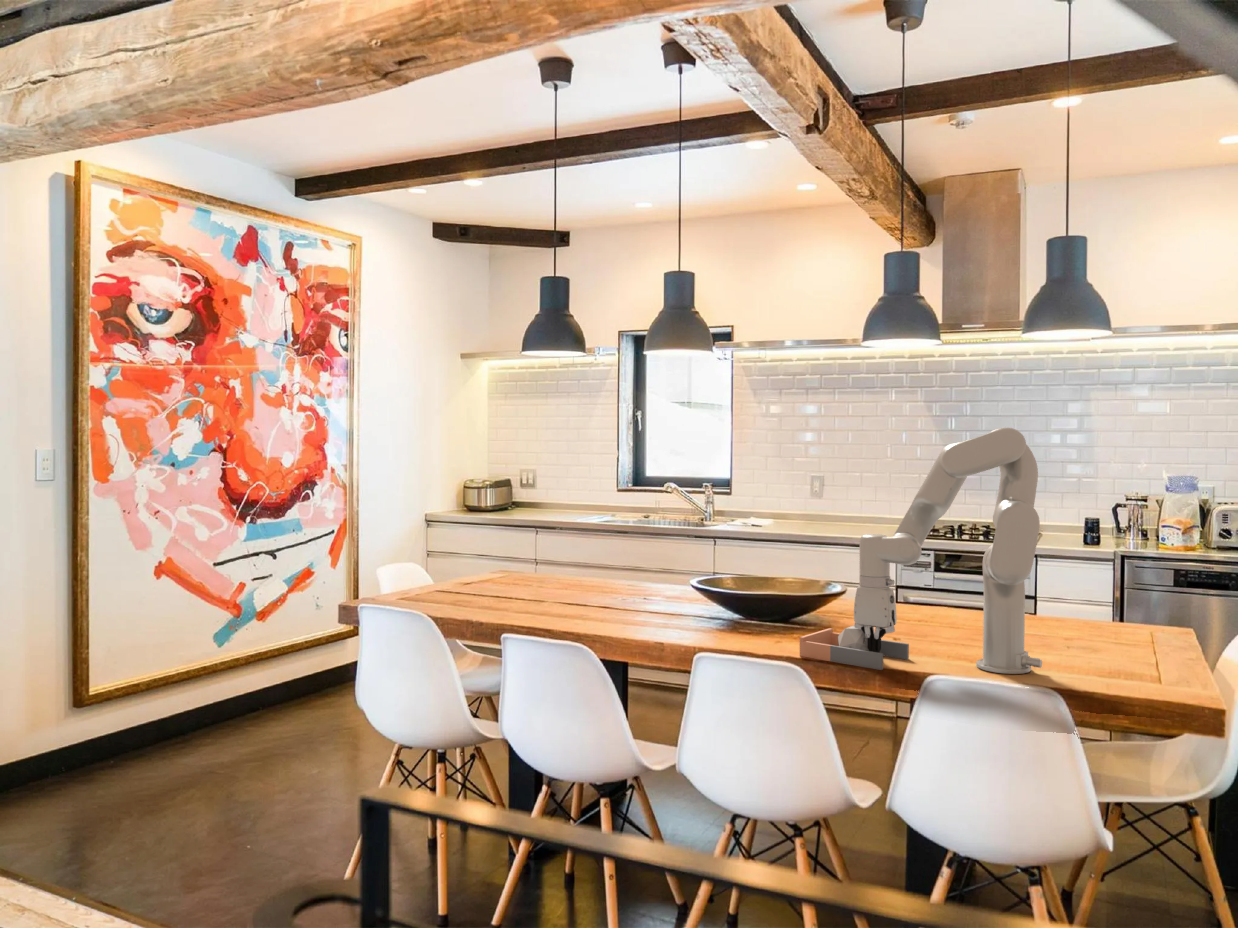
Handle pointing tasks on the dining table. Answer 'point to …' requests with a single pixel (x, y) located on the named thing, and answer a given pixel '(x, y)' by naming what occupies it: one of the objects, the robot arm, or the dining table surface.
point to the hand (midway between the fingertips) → (874, 653)
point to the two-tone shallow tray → (849, 650)
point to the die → (853, 639)
